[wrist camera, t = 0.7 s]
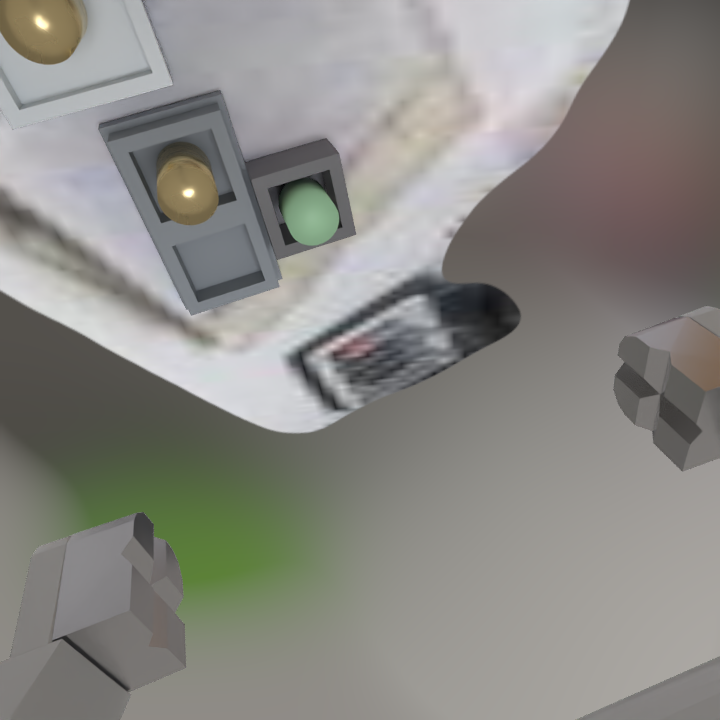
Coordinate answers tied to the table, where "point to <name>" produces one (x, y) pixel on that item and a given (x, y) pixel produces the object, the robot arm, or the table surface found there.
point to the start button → (308, 211)
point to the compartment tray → (221, 231)
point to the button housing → (292, 168)
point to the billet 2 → (186, 184)
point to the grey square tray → (86, 67)
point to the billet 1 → (43, 28)
